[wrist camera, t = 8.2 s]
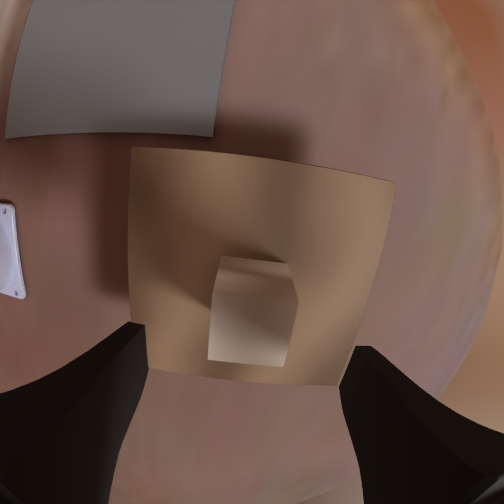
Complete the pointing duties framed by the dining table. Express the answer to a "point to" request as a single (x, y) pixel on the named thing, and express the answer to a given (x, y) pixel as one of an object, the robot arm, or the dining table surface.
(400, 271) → the dining table surface
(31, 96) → the mat
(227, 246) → the square tan board
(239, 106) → the dining table surface
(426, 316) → the dining table surface
